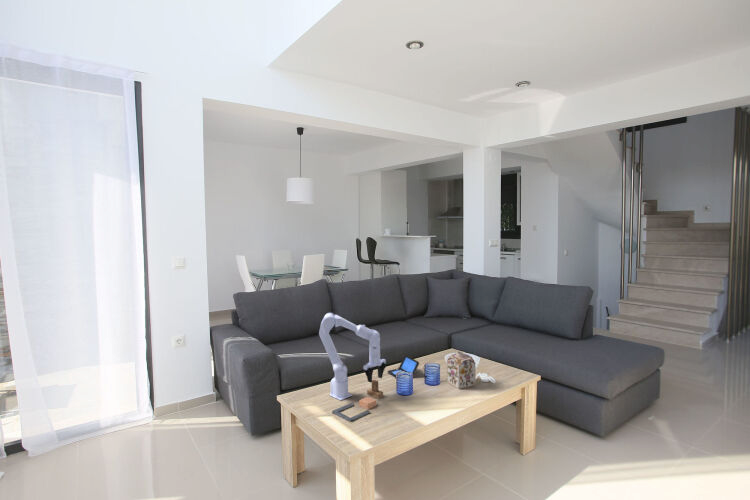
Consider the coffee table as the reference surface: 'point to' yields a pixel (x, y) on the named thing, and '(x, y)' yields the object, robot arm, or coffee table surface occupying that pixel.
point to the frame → (337, 412)
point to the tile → (367, 402)
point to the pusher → (375, 390)
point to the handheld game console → (405, 366)
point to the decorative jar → (461, 370)
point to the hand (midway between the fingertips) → (375, 379)
